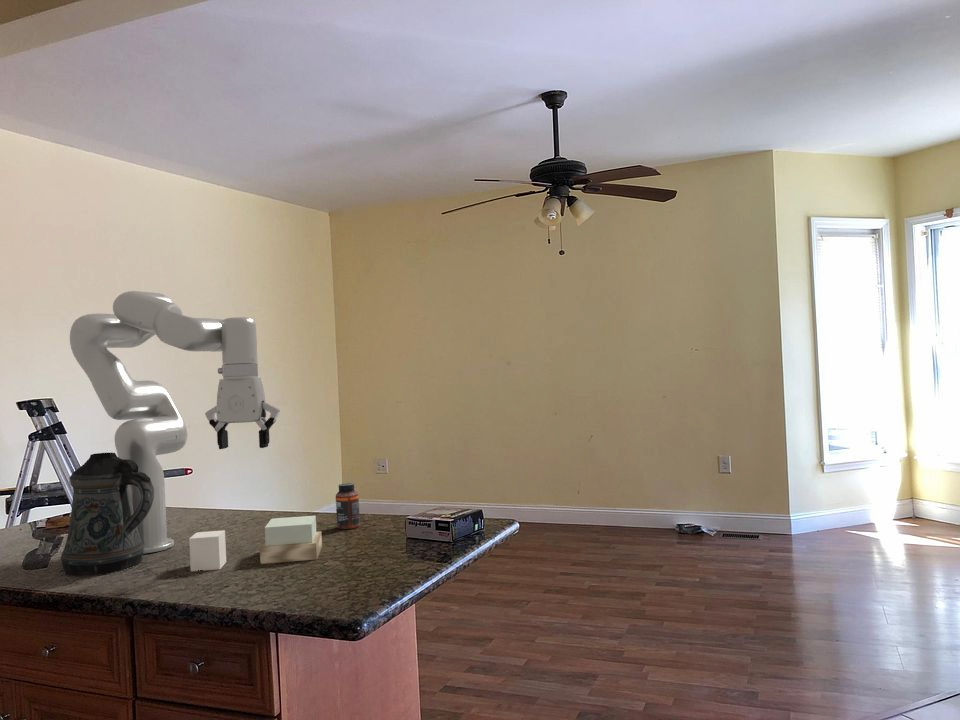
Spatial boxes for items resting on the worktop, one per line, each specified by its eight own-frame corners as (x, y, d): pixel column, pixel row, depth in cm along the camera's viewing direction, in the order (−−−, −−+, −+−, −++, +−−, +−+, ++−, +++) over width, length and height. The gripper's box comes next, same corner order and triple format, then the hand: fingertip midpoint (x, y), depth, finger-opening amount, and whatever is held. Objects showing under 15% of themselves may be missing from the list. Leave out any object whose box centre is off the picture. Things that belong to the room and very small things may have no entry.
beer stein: (68, 562, 169) (63, 453, 169) (160, 551, 176) (155, 446, 176) (54, 581, 154) (49, 461, 154) (156, 567, 160) (151, 452, 161)
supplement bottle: (362, 524, 195) (360, 481, 195) (356, 529, 189) (354, 485, 189) (340, 525, 196) (338, 482, 196) (334, 530, 190) (332, 486, 190)
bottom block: (260, 566, 160) (259, 547, 160) (269, 552, 172) (268, 535, 172) (317, 561, 161) (316, 543, 161) (322, 548, 173) (321, 531, 173)
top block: (265, 545, 161) (264, 527, 161) (272, 535, 171) (271, 518, 171) (312, 542, 162) (311, 524, 162) (316, 532, 172) (315, 515, 172)
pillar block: (190, 571, 156) (189, 538, 156) (198, 564, 162) (196, 532, 162) (220, 569, 157) (218, 536, 157) (226, 562, 163) (224, 530, 163)
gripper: (196, 374, 164) (199, 451, 164) (269, 370, 162) (273, 449, 162) (213, 373, 172) (216, 447, 172) (283, 370, 169) (286, 445, 169)
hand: (243, 447), depth 167 cm, fingers open, 9 cm apart
